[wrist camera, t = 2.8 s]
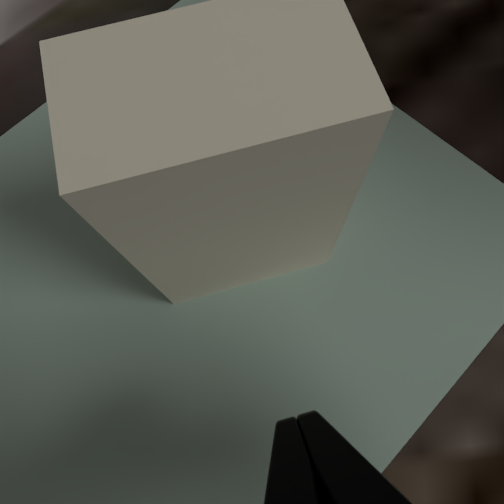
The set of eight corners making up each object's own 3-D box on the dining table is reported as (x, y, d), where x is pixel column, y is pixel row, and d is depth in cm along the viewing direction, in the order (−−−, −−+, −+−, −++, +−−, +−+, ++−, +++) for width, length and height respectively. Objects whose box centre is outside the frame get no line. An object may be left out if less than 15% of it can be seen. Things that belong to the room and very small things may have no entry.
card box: (327, 262, 16) (393, 109, 7) (173, 304, 16) (59, 194, 7) (300, 182, 17) (330, -29, 9) (156, 220, 17) (39, 41, 8)
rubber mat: (566, 239, 16) (575, 235, 16) (137, 763, 12) (132, 778, 11) (214, -16, 21) (213, -25, 21) (-179, 285, 17) (-192, 281, 17)
